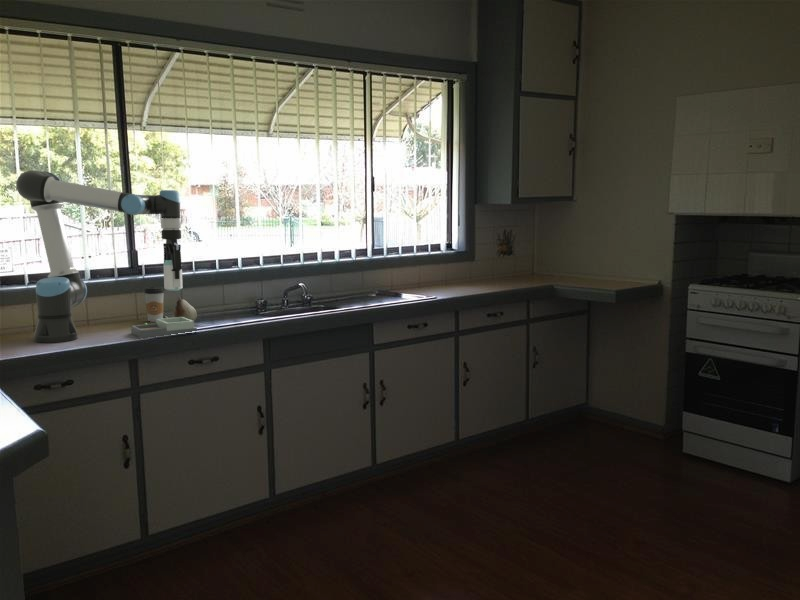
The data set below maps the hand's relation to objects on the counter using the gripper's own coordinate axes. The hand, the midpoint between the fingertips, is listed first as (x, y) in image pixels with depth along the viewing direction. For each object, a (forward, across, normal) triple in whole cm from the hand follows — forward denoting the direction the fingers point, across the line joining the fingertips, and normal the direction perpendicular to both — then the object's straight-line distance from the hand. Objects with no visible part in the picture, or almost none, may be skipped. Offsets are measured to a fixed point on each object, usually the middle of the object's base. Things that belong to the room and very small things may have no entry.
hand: (173, 286), depth 285 cm
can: (+2, 0, 0) cm, 2 cm away
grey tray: (+19, 0, +4) cm, 19 cm away
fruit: (+19, +15, -10) cm, 26 cm away
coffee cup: (+19, +34, -2) cm, 39 cm away
